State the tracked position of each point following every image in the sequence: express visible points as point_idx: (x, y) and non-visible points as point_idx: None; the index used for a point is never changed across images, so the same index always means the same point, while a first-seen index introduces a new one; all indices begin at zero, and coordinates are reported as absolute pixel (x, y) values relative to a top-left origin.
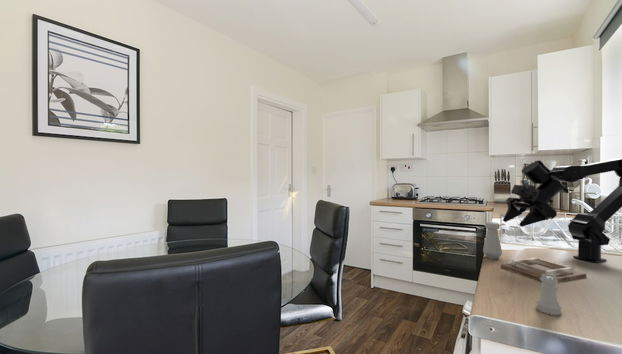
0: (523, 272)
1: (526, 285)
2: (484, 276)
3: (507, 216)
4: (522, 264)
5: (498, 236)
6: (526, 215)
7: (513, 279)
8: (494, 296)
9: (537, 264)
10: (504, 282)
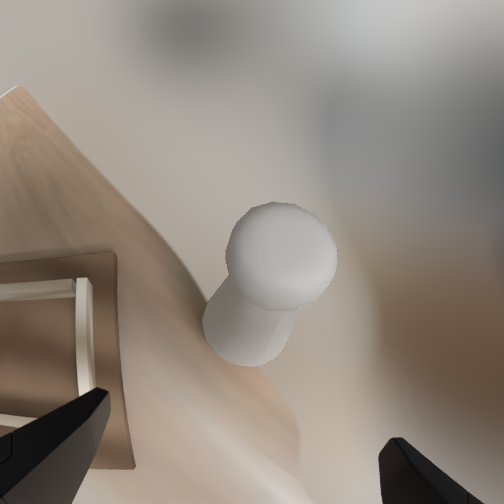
0: (36, 260)
1: (5, 207)
2: (84, 158)
3: (411, 483)
4: (48, 281)
5: (236, 315)
6: (31, 465)
7: (36, 209)
8: (23, 121)
9: None
10: (39, 174)
